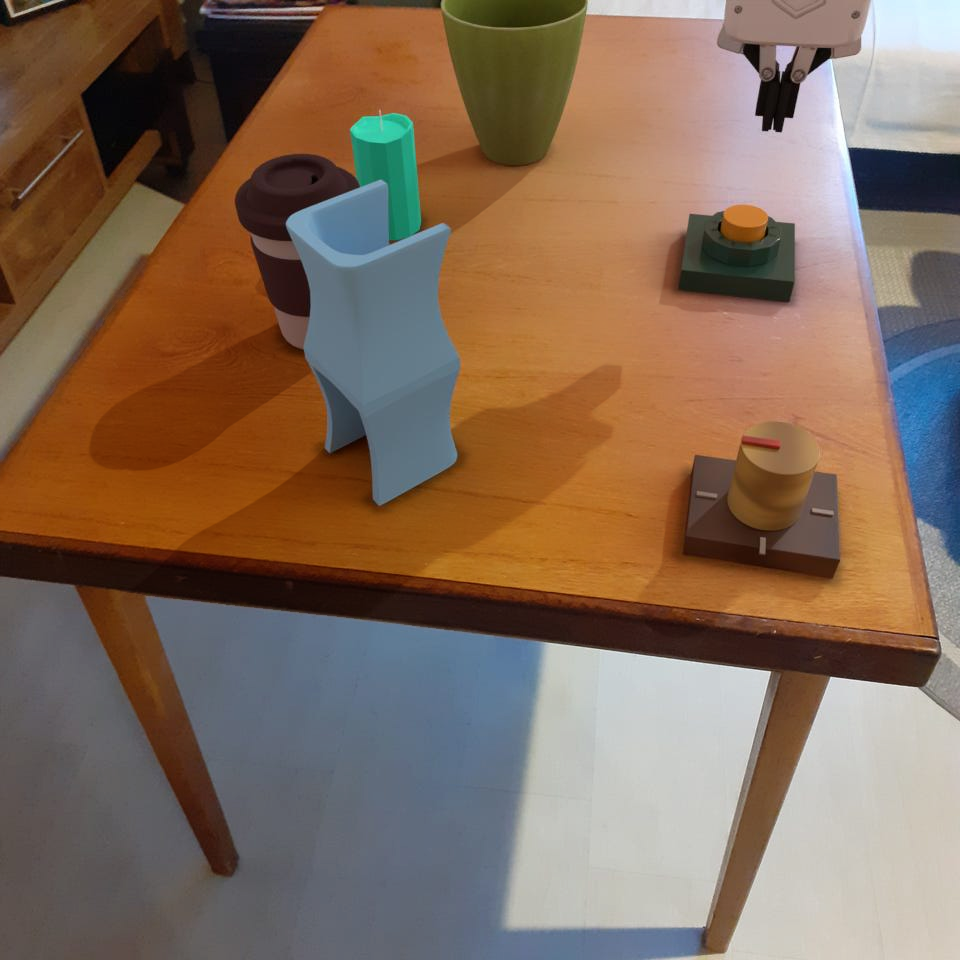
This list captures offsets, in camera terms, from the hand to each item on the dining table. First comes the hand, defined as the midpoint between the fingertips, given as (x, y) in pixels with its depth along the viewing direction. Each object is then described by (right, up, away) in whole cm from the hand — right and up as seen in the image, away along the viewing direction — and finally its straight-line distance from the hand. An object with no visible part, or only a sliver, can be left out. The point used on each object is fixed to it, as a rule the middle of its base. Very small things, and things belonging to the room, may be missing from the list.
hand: (772, 124), depth 76 cm
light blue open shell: (-31, -27, -4) cm, 41 cm away
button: (0, -6, +9) cm, 11 cm away
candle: (-33, -3, +19) cm, 38 cm away
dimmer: (-4, -32, -10) cm, 34 cm away
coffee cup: (-38, -16, +7) cm, 42 cm away
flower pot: (-20, +8, +29) cm, 37 cm away
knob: (-4, -31, -12) cm, 33 cm away
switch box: (0, -9, +12) cm, 15 cm away
